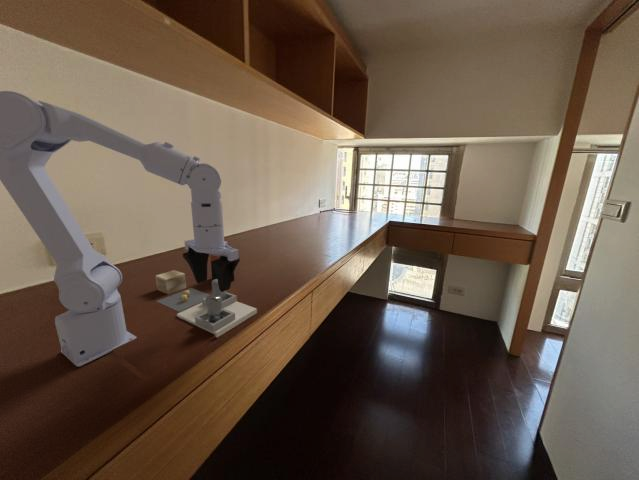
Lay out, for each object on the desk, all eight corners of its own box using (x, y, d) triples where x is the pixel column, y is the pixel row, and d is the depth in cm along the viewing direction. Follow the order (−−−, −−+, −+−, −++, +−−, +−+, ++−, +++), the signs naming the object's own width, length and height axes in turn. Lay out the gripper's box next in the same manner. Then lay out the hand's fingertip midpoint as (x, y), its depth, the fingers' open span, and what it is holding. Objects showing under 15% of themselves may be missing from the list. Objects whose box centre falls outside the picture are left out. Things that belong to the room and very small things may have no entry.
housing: (168, 296, 71) (166, 279, 70) (157, 291, 74) (155, 275, 73) (186, 289, 76) (185, 273, 75) (175, 285, 78) (174, 270, 77)
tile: (179, 314, 62) (178, 306, 62) (156, 303, 67) (155, 296, 67) (213, 298, 71) (213, 291, 70) (191, 289, 76) (190, 283, 75)
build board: (216, 338, 54) (214, 307, 52) (176, 318, 60) (173, 290, 59) (257, 312, 64) (256, 286, 62) (219, 298, 71) (218, 274, 69)
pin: (214, 326, 56) (212, 301, 54) (204, 322, 57) (202, 298, 56) (226, 320, 58) (224, 296, 57) (216, 316, 60) (214, 292, 58)
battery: (222, 286, 79) (220, 255, 76) (211, 280, 83) (209, 250, 81) (235, 282, 82) (233, 252, 80) (223, 276, 86) (221, 248, 84)
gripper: (248, 225, 52) (250, 286, 56) (202, 218, 59) (207, 273, 62) (220, 231, 46) (224, 299, 50) (172, 222, 53) (179, 282, 57)
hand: (213, 285), depth 56 cm, fingers open, 7 cm apart
